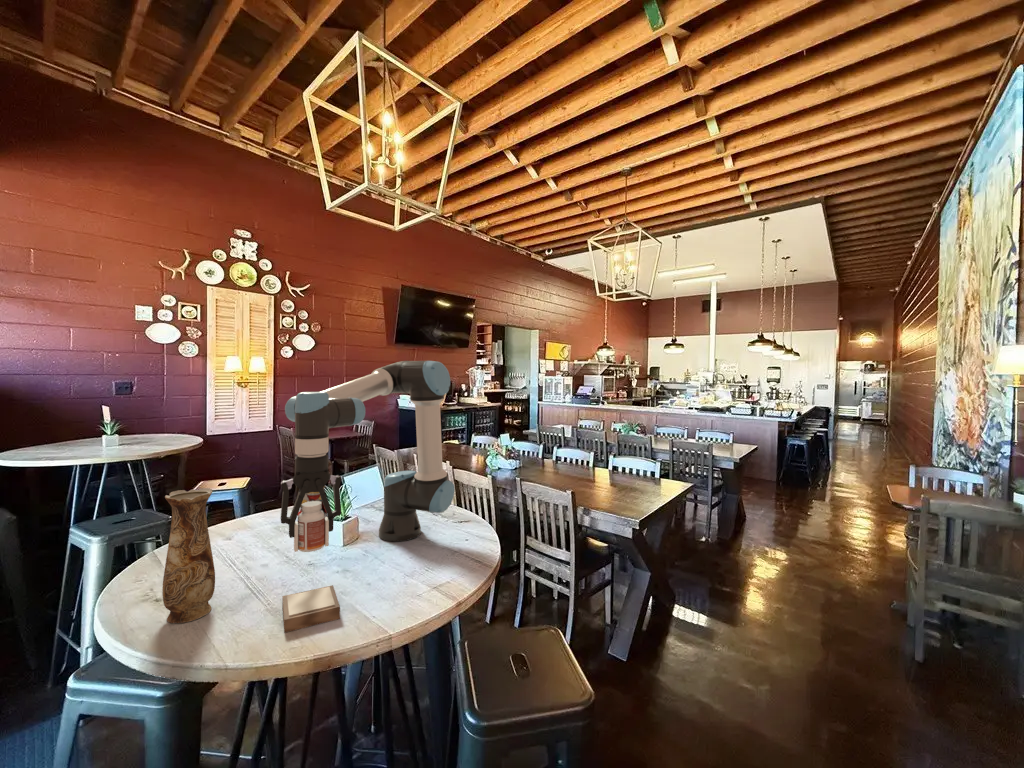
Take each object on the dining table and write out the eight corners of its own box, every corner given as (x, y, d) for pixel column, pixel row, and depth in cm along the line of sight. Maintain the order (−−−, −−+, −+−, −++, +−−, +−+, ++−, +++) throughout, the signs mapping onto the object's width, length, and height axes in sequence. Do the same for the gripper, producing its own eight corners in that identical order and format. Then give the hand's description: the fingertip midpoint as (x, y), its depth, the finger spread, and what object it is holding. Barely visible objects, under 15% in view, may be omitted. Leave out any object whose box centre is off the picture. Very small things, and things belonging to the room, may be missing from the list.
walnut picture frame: (332, 596, 116) (333, 584, 116) (339, 618, 105) (339, 605, 105) (282, 607, 110) (282, 594, 110) (284, 632, 99) (284, 618, 99)
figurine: (291, 518, 175) (291, 482, 175) (302, 509, 187) (302, 475, 186) (324, 518, 177) (324, 482, 176) (333, 509, 188) (333, 475, 188)
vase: (161, 630, 99) (160, 501, 99) (164, 609, 108) (163, 490, 107) (215, 616, 105) (215, 494, 105) (214, 597, 114) (214, 485, 113)
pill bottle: (328, 542, 111) (329, 499, 110) (319, 552, 104) (319, 507, 104) (303, 542, 110) (304, 499, 110) (292, 553, 104) (293, 507, 104)
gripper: (350, 449, 115) (349, 535, 115) (267, 454, 105) (266, 548, 106) (355, 454, 108) (354, 545, 109) (267, 460, 99) (267, 560, 99)
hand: (311, 546), depth 107 cm, fingers closed on pill bottle, 6 cm apart
